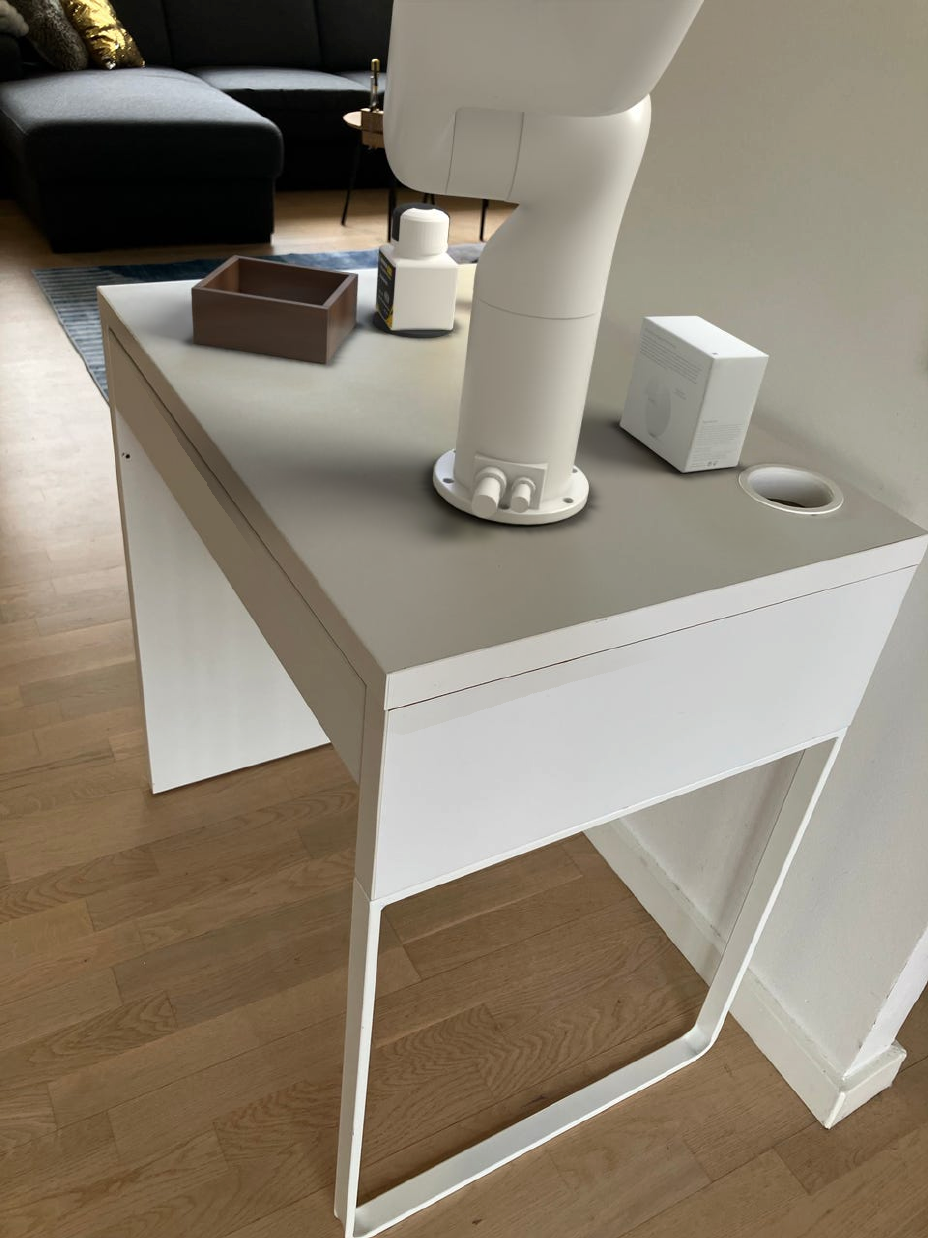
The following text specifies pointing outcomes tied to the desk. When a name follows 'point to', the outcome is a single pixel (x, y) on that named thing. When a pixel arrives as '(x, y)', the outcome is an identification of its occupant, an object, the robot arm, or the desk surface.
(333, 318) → the desk caddy
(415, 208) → the medicine bottle
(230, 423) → the desk surface
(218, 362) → the desk surface
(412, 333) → the coaster
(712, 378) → the cosmetics box
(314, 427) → the desk surface
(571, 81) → the robot arm
